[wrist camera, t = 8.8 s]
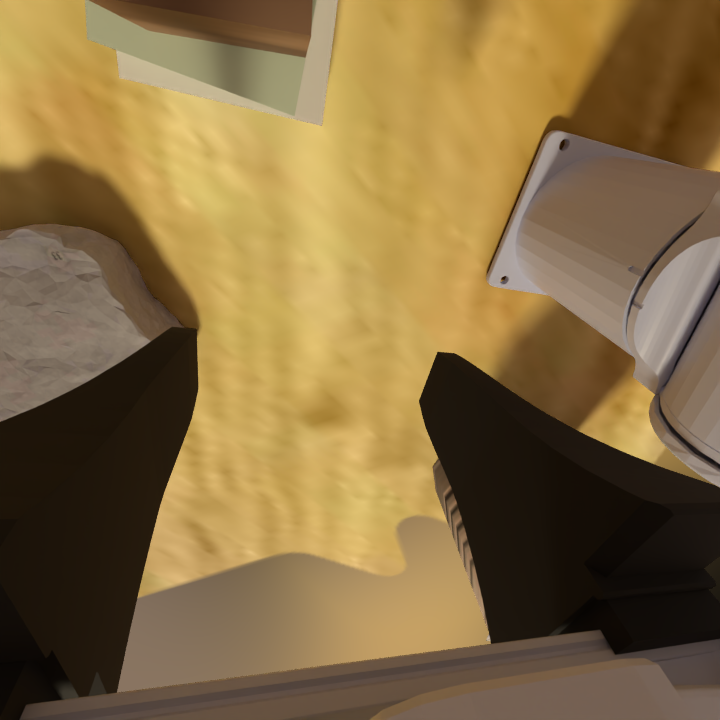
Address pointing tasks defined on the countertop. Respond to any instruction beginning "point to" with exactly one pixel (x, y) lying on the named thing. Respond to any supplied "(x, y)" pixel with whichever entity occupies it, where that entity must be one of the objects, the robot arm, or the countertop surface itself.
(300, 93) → the grey base block
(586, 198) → the robot arm
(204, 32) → the walnut block
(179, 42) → the sage top block
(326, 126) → the countertop surface
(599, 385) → the countertop surface
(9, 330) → the stone block
